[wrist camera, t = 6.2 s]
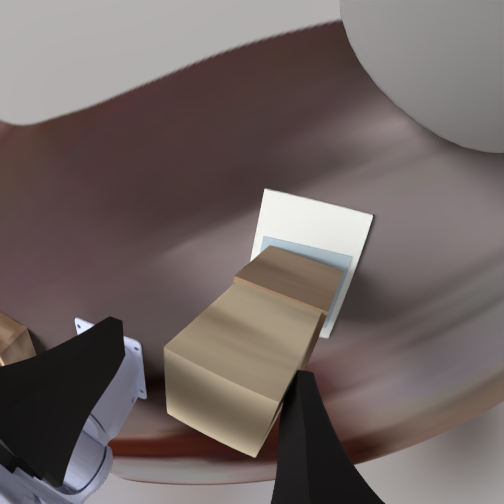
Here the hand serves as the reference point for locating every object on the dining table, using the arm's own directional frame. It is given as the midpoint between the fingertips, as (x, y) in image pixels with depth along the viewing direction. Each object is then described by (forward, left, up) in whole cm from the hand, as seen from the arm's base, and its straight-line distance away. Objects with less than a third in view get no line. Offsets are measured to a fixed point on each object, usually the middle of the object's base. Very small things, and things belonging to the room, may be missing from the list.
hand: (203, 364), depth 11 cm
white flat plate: (0, -4, -10) cm, 11 cm away
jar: (+19, -8, -11) cm, 23 cm away
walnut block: (-1, -4, -9) cm, 10 cm away
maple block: (-1, -2, -5) cm, 5 cm away
